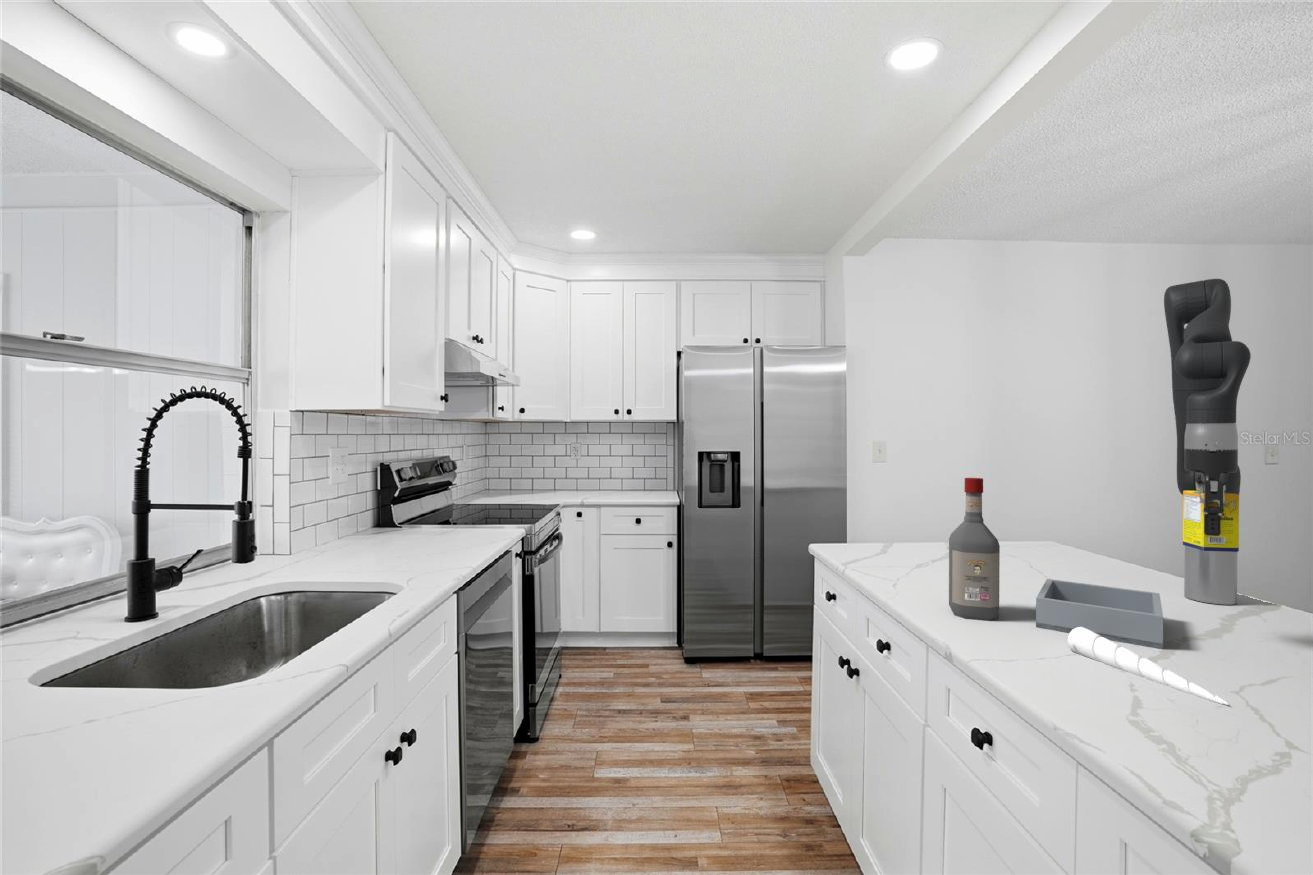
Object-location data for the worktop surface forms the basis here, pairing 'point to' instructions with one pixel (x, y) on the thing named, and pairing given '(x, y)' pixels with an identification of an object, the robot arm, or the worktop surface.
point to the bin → (1101, 611)
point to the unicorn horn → (1131, 662)
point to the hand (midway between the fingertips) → (1209, 531)
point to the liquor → (974, 561)
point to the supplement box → (1195, 524)
